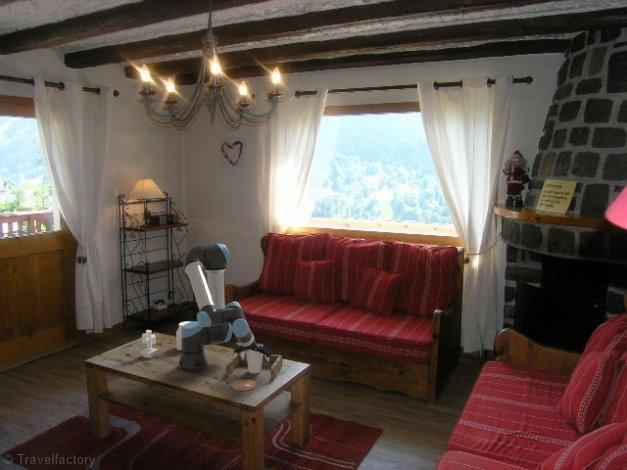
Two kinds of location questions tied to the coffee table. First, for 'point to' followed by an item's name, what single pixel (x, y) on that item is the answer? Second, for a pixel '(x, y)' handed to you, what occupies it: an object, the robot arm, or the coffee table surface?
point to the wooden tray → (273, 361)
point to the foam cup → (254, 361)
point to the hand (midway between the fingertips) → (256, 358)
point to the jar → (178, 334)
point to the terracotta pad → (243, 385)
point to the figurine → (149, 344)
